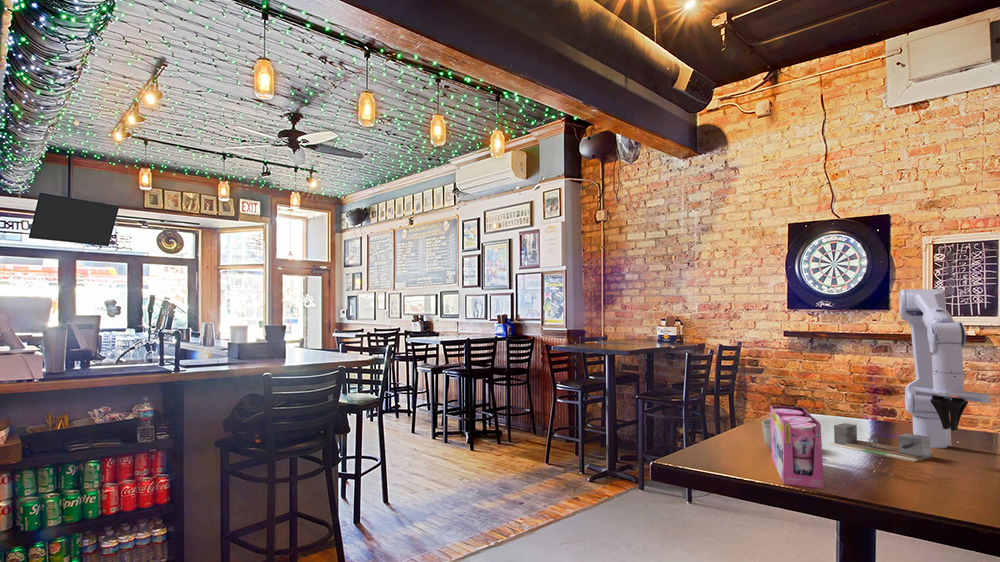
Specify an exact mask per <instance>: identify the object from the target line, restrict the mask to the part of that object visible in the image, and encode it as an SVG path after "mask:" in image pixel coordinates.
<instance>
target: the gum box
mask: <svg viewBox="0 0 1000 562" xmlns="http://www.w3.org/2000/svg"><path fill="white" fill-rule="evenodd" d="M769 408H770V409H769V413H770V414H769V418H770V421H771V449H772V450H771V449H770V450H771V460H772V463H773V465H774V466H775V469H776V471H777V473H778V475H779V478H780V480H781V481H782V484H783V485H788V486H797V487H806V488H807V487H808V488H816V489H824V465H823V463H824V462H823V446H822V445H823V443H822V442H823V441H822V424H821V423H820V421H819V420H817V419H816V418H815V417H814V416H812V415H811V414H810V413H809V412H808V411H807V410H806V409H805V408H804V407H800V406H785V405H784V406H782V405H781V406H780V405H771V406H770V407H769Z"/></svg>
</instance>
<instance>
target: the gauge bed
mask: <svg viewBox="0 0 1000 562" xmlns="http://www.w3.org/2000/svg"><path fill="white" fill-rule="evenodd" d="M857 429H858V428H857V424H852V423H846V422H843V423H840V424H839V423H838V424H835V425H833V435H834V437H833V438H834V441H833V442H828V443H826V444H827V445H828V446H832V447H836V448H837V447H838V448H843V449H848V450H853V451H857V452H862V453H867V454H871V455H877V456H881V457H887V458H893V459H896V460H902V461H906V462H907V461H908V462H913V463H915V462H922V461H923V460H922V458H921V457H916V456H911V455H905V454H900V453H898V446H892V445H887V444H881V443H875V442H871V441H866V440H858V430H857ZM858 444H860V445H858ZM863 445H866V446H863ZM869 446H871V447H869ZM873 447H874V448H873ZM875 447H876V448H875ZM880 448H882V449H880ZM883 449H886V450H883ZM889 450H890V451H889ZM895 451H897V452H895ZM930 458H933V453H931V457H930Z"/></svg>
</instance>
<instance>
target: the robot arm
mask: <svg viewBox="0 0 1000 562" xmlns="http://www.w3.org/2000/svg"><path fill="white" fill-rule="evenodd" d="M946 296H947V295H946V293H945V291H944V290H943V289H942V288H930V289H929V288H928V289H927V288H926V289H925V288H924V289H923V288H922V289H919V288H918V289H915V288H914V289H905V288H902V289H901V290H900V291H899V293H898V306H899V309H898V310H899V315H900V318H901V320H903V321H905V322H907V323H908V325H909V328H910V334H911V344H912V355H913V363H914V370H915V371H914V373H915V374H914V375H915V380H913V381H911V382H909V383H908V384H907V385H905V388H904V406H905V410H906V412H907V413H908V414H910V415H912V417H911V418H912V432H913V433H912V434H915V435H921V436H927V437H930V448H934V449H946V448H948V446H949V447H952V431H957V430H958V429H959V423H960V421H961V417H962V415H963V413H964V411H965V409H966V407H967V406H968V404H969V402H975V403H981V404H989V403H990V394H989V393H981V392H973V391H966V390H965V385H964V384H965V383H964V382H965V381H964V379H965V378H964V377H965V376H964V361H963V360H964V359H963V347H964V346H965V344H966V341H967V340H966V336H967V334H966V329H965V326H964V324H963V323H964V322H962V321H955V319H954V318H953V317H952V315H951V314H950V312H949V311H948V310H947V309H945V308H946V306H947V297H946Z"/></svg>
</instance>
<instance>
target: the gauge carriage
mask: <svg viewBox="0 0 1000 562" xmlns="http://www.w3.org/2000/svg"><path fill="white" fill-rule="evenodd" d="M897 445H898V446H897V447H898V451H897V453H900V454H905V455H911V456H916V457H921V458H922V461H924V460H927V459H931V458H932V457H931V454H932V450H931V448H932V447H930V437H927V436H921V435H915V434H913V433H907V432H905V433H902V434H898V435H897Z"/></svg>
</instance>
